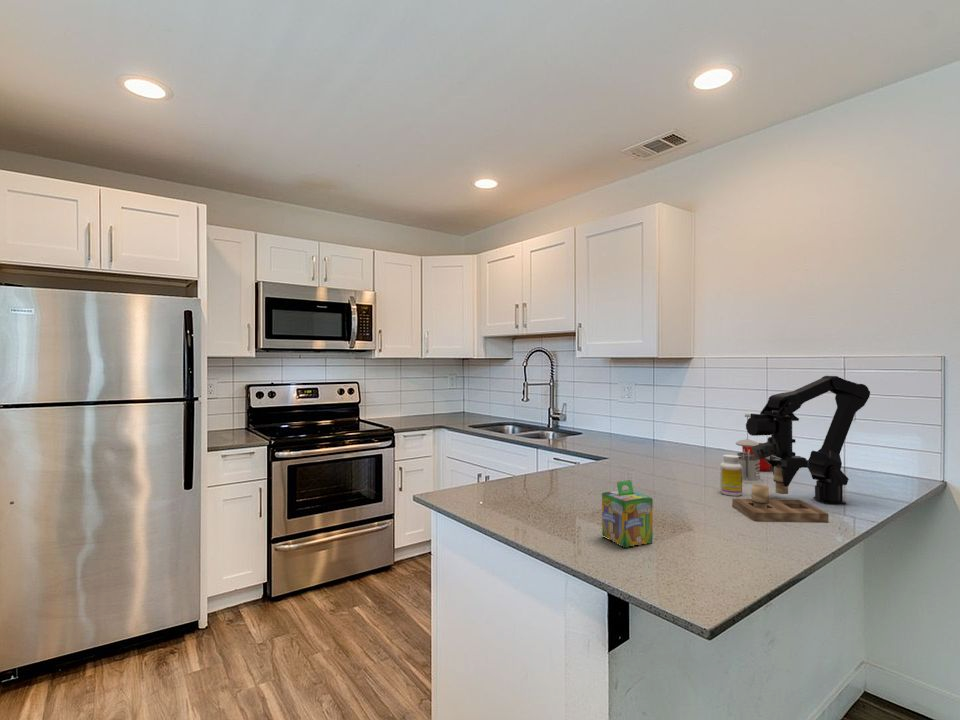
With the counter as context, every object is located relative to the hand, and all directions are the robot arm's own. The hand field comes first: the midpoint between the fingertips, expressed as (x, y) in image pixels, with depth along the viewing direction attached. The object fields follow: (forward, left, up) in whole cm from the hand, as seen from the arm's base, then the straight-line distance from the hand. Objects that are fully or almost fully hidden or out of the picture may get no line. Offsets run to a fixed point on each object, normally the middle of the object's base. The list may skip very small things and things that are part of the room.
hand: (781, 484), depth 157 cm
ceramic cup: (-19, -50, -6) cm, 54 cm away
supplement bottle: (+11, -11, -6) cm, 17 cm away
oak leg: (0, 0, -3) cm, 3 cm away
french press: (-3, -30, -6) cm, 31 cm away
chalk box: (+56, +35, -6) cm, 66 cm away
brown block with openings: (+7, +11, -6) cm, 14 cm away
